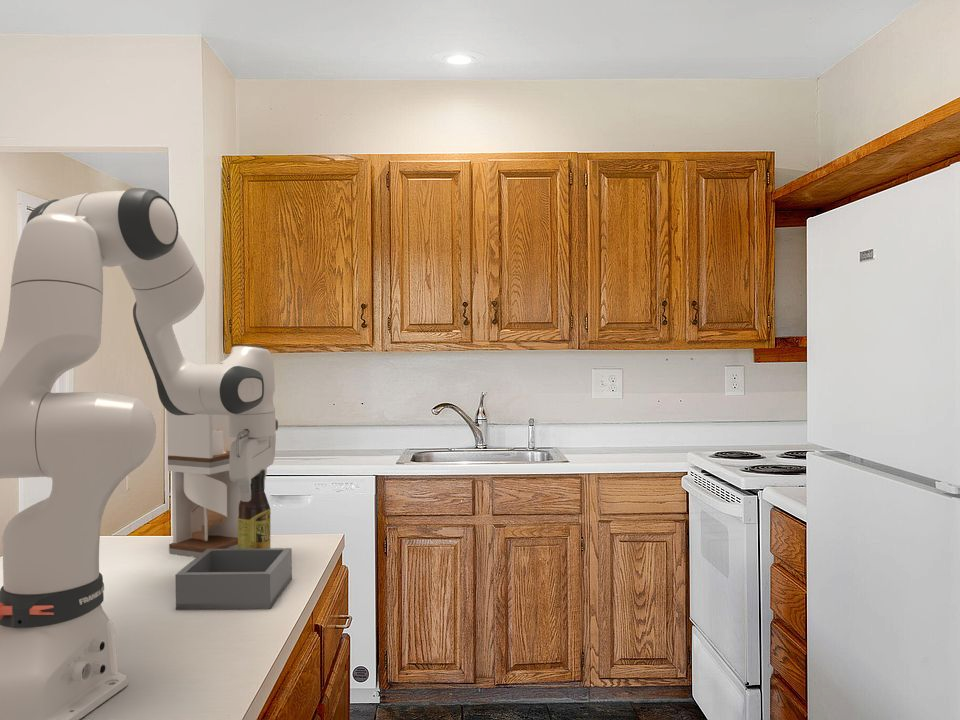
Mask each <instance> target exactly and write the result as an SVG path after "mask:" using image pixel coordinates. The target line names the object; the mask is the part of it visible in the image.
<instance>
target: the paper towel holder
mask: <svg viewBox="0 0 960 720" xmlns="http://www.w3.org/2000/svg"><path fill="white" fill-rule="evenodd" d="M166 426H167V427H166V430H167V431H166V432H167V433H166V437H167V442H166V443H167V472H171V478H172V479H171V481H172V482H171V488H172V492H171V493H172V543H169V545H168V546H169V547H168V554H169V553H170V555H175V554H177V556H182V555H186V556H185V557H190V556H193V557H192V558H197V557H198V556H199V555H200V554H202V553H203V552H204V551H205V550H206V549H238V516H239V503H240V501H241V492H240V489H239V486H238V482H232V481H231V480H230V477H229V460H230V447H231V444H232V442H233V441H235V440H236V438H235V437H230V436H229V415H203V414H195V415H180V416H179V415H174V414H172V413H170V412H169V411H168V410H167V409H166Z"/></svg>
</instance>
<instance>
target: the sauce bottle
mask: <svg viewBox="0 0 960 720" xmlns="http://www.w3.org/2000/svg"><path fill="white" fill-rule="evenodd" d="M264 477H265V470H264V469H263V470H261V472H260V473H259V474H257V475H256V476H255V477H253V478H252V479H251V484H250V485H251V491H252V499H251V500H250V501H249V502H243V501H240V503H239V516H238V549H248V548H271V507H270V503H269V500H268V498H267V495H266V493H265V489H264Z"/></svg>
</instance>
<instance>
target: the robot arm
mask: <svg viewBox="0 0 960 720" xmlns="http://www.w3.org/2000/svg"><path fill="white" fill-rule="evenodd" d="M24 225H25V226H24V228H23V229H22V232H21V235H20V238H19V241H18V245H17V249H16V252H15V257H14V261H13V266H12V274H11V282H10V295H9V306H8V314H7V321H6V327H5V334H4V339H3V342H2V346H1V349H0V479H1V480H2V479H20V478H21V479H23V478H25V479H26V478H43V477H44V478H45V477H46V478H51V479H52V487H51V490H50V491H51V492H50V494H49V497H46V498H45V499H41V501H38V502H36V503H35V504H32V505H30V506H29V507H27V508H25V509H23V510H22V511H20V512H18V513H17V514H15V515H14V516H13V517H12V518H11V519H10V520H9V521H8V523H7V524H6V526H5V528H4V530H3V533H2V537H1V540H2V581H3V582H2V583H3V585H2V586H1V588H0V720H81V719H82V718H83V717H85V716H86V715H88V714H89V713H90V712H92V711H94V710H95V709H96V708H97V707H99V706H101V705H102V704H103V703H105V702H106V701H107V700H109V699H110V698H111V697H114V695H116V694H117V693H118V692H120V691H121V690H124V689H125V688H126V687H127V686H128V684H129V682H128V677H127V675H126V674H124V673H122V672H120V671H119V667H118V666H119V665H118V656H117V647H116V637H115V629H114V623H113V622H112V620H111V618H109V617H108V616H107V614H106V612H105V610H104V609H103V606H102V603H103V602H104V592H105V583H104V580H103V579H104V578H103V574H102V573H101V572H100V543H101V542H100V538H101V527H102V519H103V516H104V511H105V510H106V506H107V504H108V501H109V499H110V498H111V496H112V495H113V493H114V492H115V490H116V488H117V487H118V486H119V485H120V483H122V481H123V480H124V479H126V477H128V476H129V475H130V474H131V473H132V472H133V471H134V470H136V469H137V468H139V467H140V466H141V465H142V464H143V463H144V462H145V461H146V460H147V459H148V457H149V456H150V454H151V452H152V451H153V448H154V446H155V442H156V438H157V437H156V436H157V427H156V421H155V418H154V415H153V413H152V412H151V409H150V408H149V407H148V406H147V404H146V403H145V402H144V401H143V400H142V399H141V398H140V397H137V396H131V395H125V394H120V393H113V392H106V391H89V392H88V391H85V392H84V391H83V392H82V391H79V392H77V391H76V392H52V389H53V386H54V385H55V383H56V382H57V380H59V378H60V377H61V376H62V375H63V374H65V373H66V372H67V371H70V370H72V369H74V368H76V367H79V366H81V365H83V364H85V363H86V362H88V361H90V359H91V358H92V357H93V356H94V355H95V354H96V353H97V351H98V349H99V348H100V346H101V343H102V342H101V340H102V324H103V303H104V302H103V300H104V299H103V297H104V271H103V267H106V268H113V267H119V266H120V268H121V270H122V272H123V274H124V276H125V278H126V279H125V280H126V281H127V283H128V284H129V286H130V289H132V292H133V294H134V297H135V303H134V304H133V309H132V317H133V322H134V325H135V328H136V331H137V334H138V336H139V339H140V342H141V345H142V347H143V350H144V353H145V354H146V357H147V361H148V363H149V365H150V368H151V370H152V373H153V375H154V378H155V383H156V384H155V385H156V390H157V395H158V398H159V400H160V402H161V404H162V406H163V407H164V408H165V409H166V411H167V410H168V411H169V412H170V413H172V414H174V415H179V416H180V415H195V414H203V415H229V436H230V437H235V438H236V440H235V441H233V442H232V444H231V447H230V460H229V477H230V480H231V481H232V482H238V486H239V489H240V492H241V501H243V502H249V501H250V500H251V499H252V491H251V485H250V484H251V479H252V478H253V477H255V476H256V475H257V474H259V473H260V472H261V470H263V469H264V470H265V477H264V490H266V489H265V488H266V486H265V485H266V478H267V473H268V472H267V470H268V468H269V467H270V466H271V465H273V463H274V461H275V455H276V444H277V443H276V439H277V438H276V436H277V434H276V432H277V431H278V430H279V420H278V419H277V418H276V408H275V404H274V394H275V391H276V388H275V386H276V384H275V383H276V380H275V368H274V361H273V357H272V354H271V351H270V350H269V349H268V348H266V347H263V346H260V345H251V344H239V345H234V346H232V348H231V350H230V354H229V356H228V357H226V358H225V359H224V360H222V361H220V362H219V363H196V362H192V361H190V360H188V359H187V358H185V357H184V356H183V354H182V353H183V352H182V351H181V347H180V345H179V343H178V340H177V337H176V334H175V331H174V329H173V326H174V325H175V324H178V323H179V322H181V321H183V320H185V319H186V318H187V317H189V316H190V315H191V314H192V313H193V312H194V311H195V310H196V309H197V308H198V307H199V305H200V303H201V301H202V300H203V297H204V295H205V294H204V293H205V283H204V279H203V276H202V273H201V271H200V268H199V266H198V265H197V263H196V261H195V260H196V259H195V258H194V257H193V255H192V253H191V251H190V249H189V247H188V245H187V244H186V242H185V240H184V239H183V237H182V235H181V234H180V232H179V222H178V218H177V213H176V212H175V210H174V208H173V206H172V204H171V203H170V202H169V200H168V199H166V197H164V196H163V195H162V194H160V193H159V192H158V191H156V190H154V189H150V188H140V187H137V188H136V187H135V188H133V187H132V188H131V187H130V188H128V189H126V190H109V191H107V190H106V191H99V192H97V191H92V192H85V193H80V194H76V195H73V196H68V197H65V198H62V199H51V200H48V201H46V202H44V203H41V204H39V205H38V206H36V207H34V209H32V211H30V214H29V216H28V217H27V220H26V224H24Z"/></svg>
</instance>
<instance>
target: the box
mask: <svg viewBox="0 0 960 720" xmlns="http://www.w3.org/2000/svg"><path fill="white" fill-rule="evenodd" d="M292 549H293V548H292V547H281V548H280V547H275V548H273V547H270V548H248V549H206V550H205V551H204V552H203V553H202V554H200V555H199V556H198V557H194V559H193V560H192V561H190V562H189V563H188V564H187V565H185V566H184V567H182V568H181V570H179V571H178V572H177V573H176V574H175V576H174V577H175V579H174V580H175V610H177V611H178V610H179V611H185V610H187V611H188V610H195V611H196V610H197V611H198V610H199V611H200V610H269V609H270V610H271V609H272V608H273V606H274V605H275V603H276V602H277V600H279V598H280V596H281V595H282V594H283V593H284V591H285V589H286V588H287V587H288V586H289V584H290V582H291V581H292V580H293V562H292V561H293V554H292V553H293V551H292Z"/></svg>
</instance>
